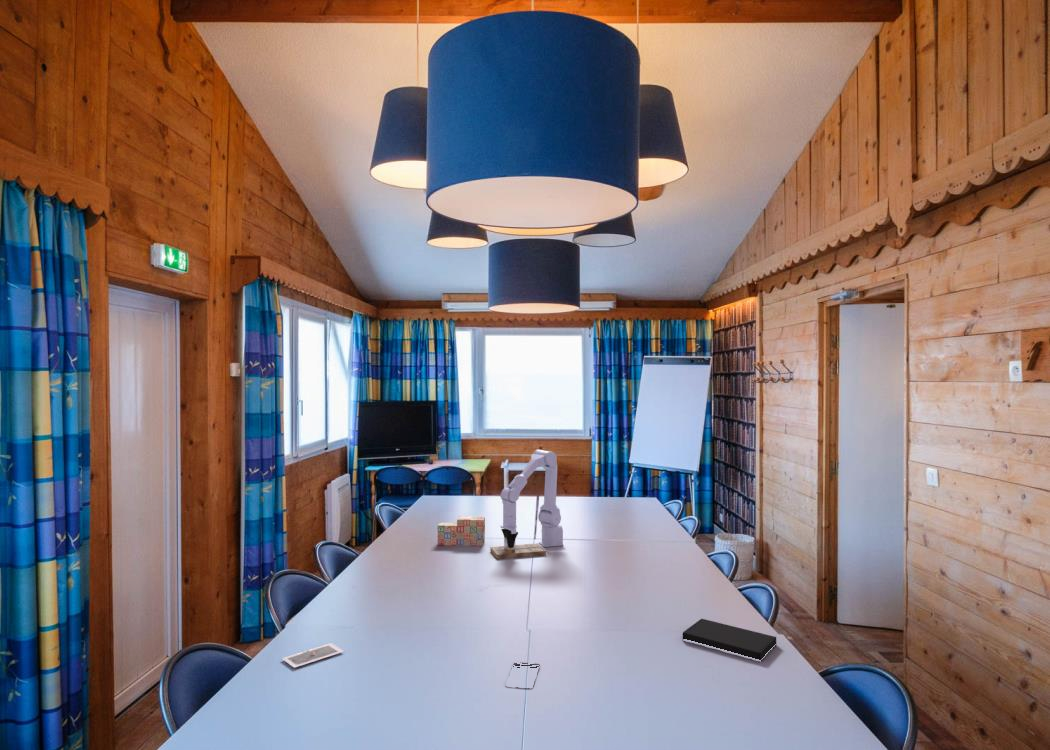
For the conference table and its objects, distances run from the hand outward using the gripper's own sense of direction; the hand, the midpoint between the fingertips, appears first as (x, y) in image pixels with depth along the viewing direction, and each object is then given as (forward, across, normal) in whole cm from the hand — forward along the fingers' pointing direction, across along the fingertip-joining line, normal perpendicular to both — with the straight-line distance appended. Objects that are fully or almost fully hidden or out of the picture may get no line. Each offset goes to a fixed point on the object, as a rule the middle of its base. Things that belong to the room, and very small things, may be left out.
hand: (509, 546), depth 289 cm
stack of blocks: (+4, -22, -17) cm, 29 cm away
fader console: (+3, 0, +4) cm, 5 cm away
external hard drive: (+4, +108, +38) cm, 115 cm away
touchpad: (+4, +84, -80) cm, 116 cm away
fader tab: (+1, 0, 0) cm, 1 cm away
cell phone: (+4, +111, -26) cm, 114 cm away
